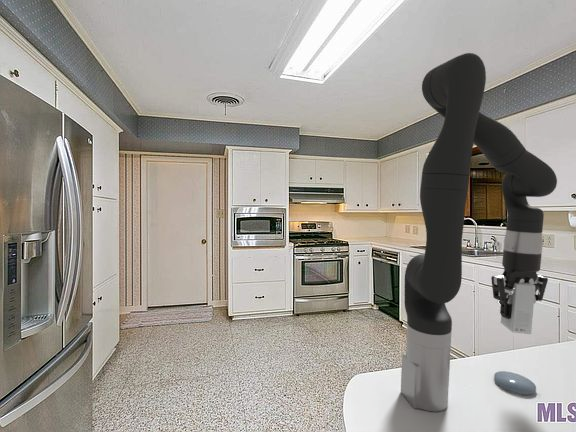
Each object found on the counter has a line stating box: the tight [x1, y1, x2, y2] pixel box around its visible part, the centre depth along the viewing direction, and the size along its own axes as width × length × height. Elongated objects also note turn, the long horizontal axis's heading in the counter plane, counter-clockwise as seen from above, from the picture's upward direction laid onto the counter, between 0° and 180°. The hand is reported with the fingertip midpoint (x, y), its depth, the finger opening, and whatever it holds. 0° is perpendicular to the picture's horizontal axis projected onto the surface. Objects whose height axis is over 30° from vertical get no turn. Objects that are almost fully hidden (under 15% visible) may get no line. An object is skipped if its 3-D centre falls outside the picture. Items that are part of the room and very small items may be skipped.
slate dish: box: [493, 370, 537, 397], centre depth 78 cm, size 8×8×1 cm
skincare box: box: [500, 282, 535, 335], centre depth 77 cm, size 6×4×12 cm
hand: (516, 316), depth 78 cm, fingers closed on skincare box, 5 cm apart
